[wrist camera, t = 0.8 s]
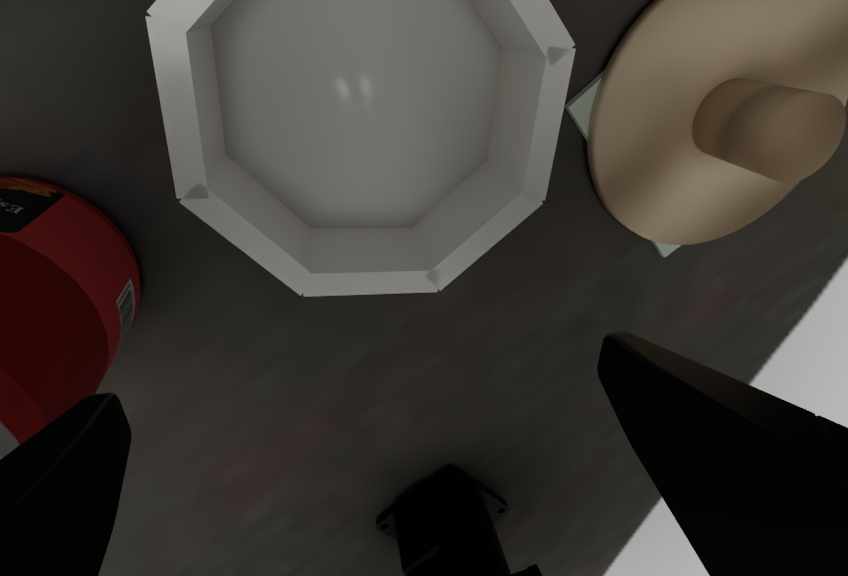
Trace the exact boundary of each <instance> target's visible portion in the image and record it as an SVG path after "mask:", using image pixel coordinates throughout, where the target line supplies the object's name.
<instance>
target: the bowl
mask: <svg viewBox="0 0 848 576" xmlns="http://www.w3.org/2000/svg"><path fill="white" fill-rule="evenodd" d="M147 12H148V13H149V14H150V15H151V16H145V17H146V23H147V28H148V34H149V40H150V46H151V52H152V58H153V63H154V69H155V75H156V81H157V87H158V92H159V98H160V104H161V110H162V116H163V122H164V127H165V133H166V139H167V145H168V151H169V157H170V162H171V168H172V174H173V180H174V186H175V191H176V197H177V199H181V200H180V201H179V202H180V203H181V204H182V205H183V206H185V207H186V208H187V209H189V210H190V211H191V212H192V213H194V214H195V215H196V216H198V217H199V218H200V219H202V220H203V221H204V222H205V223H207V224H208V225H209V226H211V227H212V228H213V229H214V230H216V231H217V232H218V233H220V234H221V235H222V236H224V237H225V238H226V239H227V240H229V241H230V242H231V243H233V244H234V245H235V246H237V247H238V248H239V249H240V250H242V251H243V252H244V253H246V254H247V255H248V256H249V257H251V258H252V259H253V260H255V261H256V262H257V263H259V264H260V265H261V266H262V267H264V268H265V269H266V270H268V271H269V272H270V273H272V274H273V275H274V276H275V277H277V278H278V279H279V280H281V281H282V282H283V283H284V284H286V285H287V286H288V287H290V288H291V289H292V290H294V291H295V292H296V293H297V294H299V295H302V294H303V295H304V297H310V296H339V295H367V294H396V293H425V292H437V291H438V289H439V290H440V291H441V290H442V289H443V288H444V287H446V286H447V285H448V284H449V283H450V282H451V281H453V280H454V279H455V278H456V277H457V276H459V275H460V274H461V273H462V272H463V271H464V270H466V269H467V268H468V267H469V266H470V265H471V264H473V263H474V262H475V261H476V260H477V259H479V258H480V257H481V256H482V255H483V254H484V253H486V252H487V251H488V250H489V249H490V248H491V247H493V246H494V245H495V244H496V243H497V242H499V241H500V240H501V239H502V238H503V237H504V236H506V235H507V234H508V233H509V232H510V231H512V230H513V229H514V228H515V227H516V226H517V225H519V224H520V223H521V222H522V221H523V220H524V219H526V218H527V217H528V216H529V215H530V214H532V213H533V212H534V211H535V210H536V209H537V208H539V207H540V206H541V205H542V204H543V202H542V201H541V200H545V199H546V194H547V189H548V184H549V179H550V174H551V169H552V164H553V159H554V154H555V149H556V144H557V139H558V134H559V129H560V125H561V120H562V115H563V110H564V105H565V100H566V95H567V90H568V85H569V80H570V75H571V70H572V65H573V60H574V55H575V50H576V49H575V48H572V47H573V46H574V45H575V43H574V42H573V40H572V38H571V36H570V35H569V33H568V31H567V30H566V28H565V26H564V25H563V23H562V21H561V19H560V18H559V16H558V14H557V13H556V11H555V9H554V8H553V6H552V4H551V2H550V1H549V0H156V1H155V2H154V3H153V5H152V6H151V7H150V8H149V9H148V10H147Z"/></svg>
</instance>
